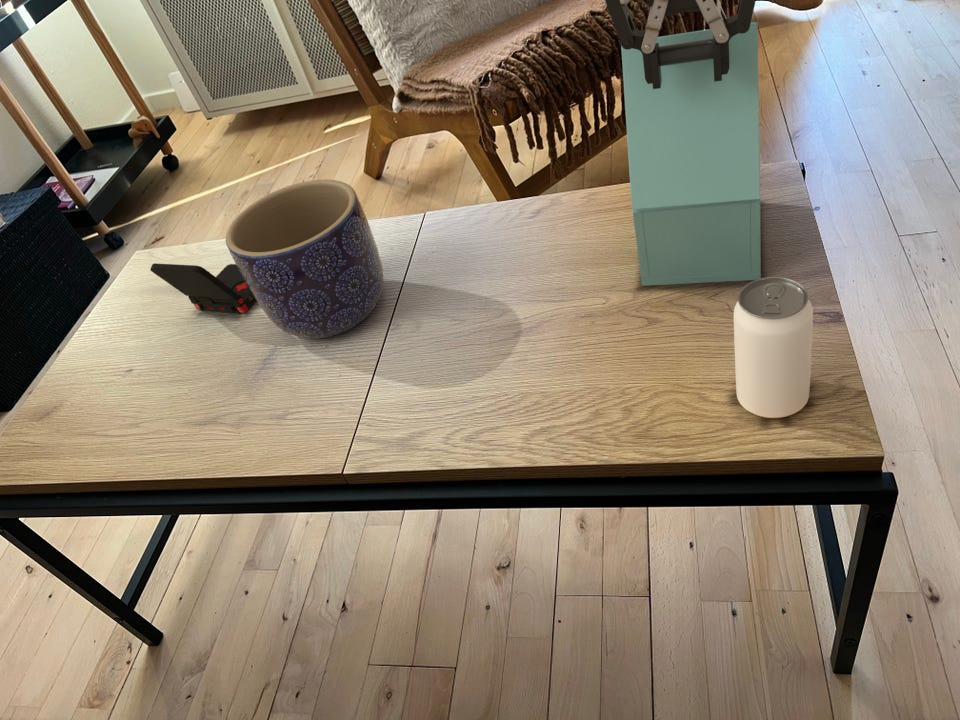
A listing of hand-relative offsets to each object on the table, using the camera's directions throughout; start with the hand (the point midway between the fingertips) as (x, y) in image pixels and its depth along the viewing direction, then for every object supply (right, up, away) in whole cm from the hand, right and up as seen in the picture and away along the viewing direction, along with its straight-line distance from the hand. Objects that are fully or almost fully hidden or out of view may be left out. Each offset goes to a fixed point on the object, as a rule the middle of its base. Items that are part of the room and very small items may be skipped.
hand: (687, 80), depth 75 cm
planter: (-39, -21, +27) cm, 52 cm away
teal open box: (+7, -13, +19) cm, 24 cm away
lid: (+2, -2, +4) cm, 5 cm away
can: (+8, -31, -1) cm, 31 cm away
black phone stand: (-55, -18, +35) cm, 68 cm away
